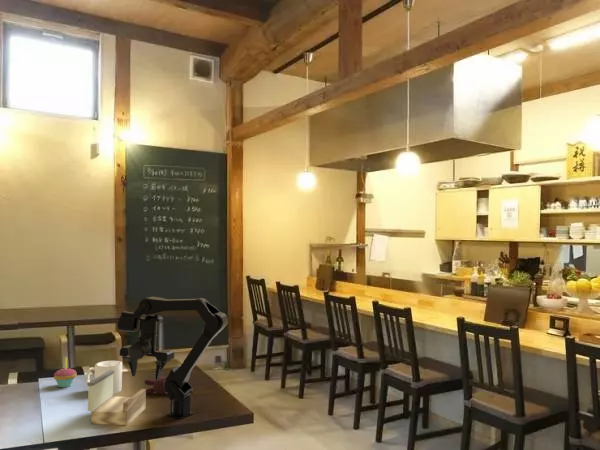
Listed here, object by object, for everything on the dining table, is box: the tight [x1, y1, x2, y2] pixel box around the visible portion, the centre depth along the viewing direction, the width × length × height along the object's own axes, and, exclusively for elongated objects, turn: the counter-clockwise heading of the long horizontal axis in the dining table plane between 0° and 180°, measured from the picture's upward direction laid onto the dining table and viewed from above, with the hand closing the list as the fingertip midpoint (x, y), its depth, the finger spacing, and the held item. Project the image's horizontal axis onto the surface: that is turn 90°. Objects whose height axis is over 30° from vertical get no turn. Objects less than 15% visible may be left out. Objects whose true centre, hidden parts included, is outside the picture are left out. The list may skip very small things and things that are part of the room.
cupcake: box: [53, 356, 78, 388], centre depth 206 cm, size 9×8×12 cm
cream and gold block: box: [90, 388, 147, 426], centre depth 172 cm, size 12×16×7 cm
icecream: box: [144, 375, 168, 395], centre depth 197 cm, size 7×7×15 cm
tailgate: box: [87, 370, 114, 412], centre depth 172 cm, size 2×16×9 cm, turn 176°
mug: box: [85, 360, 123, 395], centre depth 200 cm, size 14×10×11 cm
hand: (145, 377), depth 176 cm, fingers open, 9 cm apart
